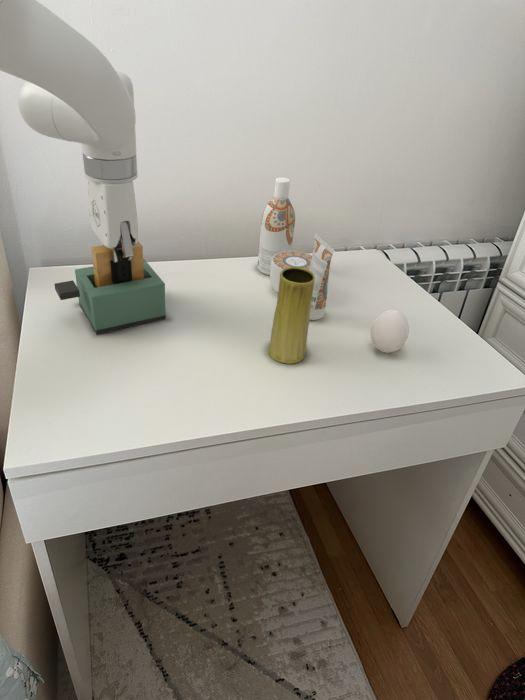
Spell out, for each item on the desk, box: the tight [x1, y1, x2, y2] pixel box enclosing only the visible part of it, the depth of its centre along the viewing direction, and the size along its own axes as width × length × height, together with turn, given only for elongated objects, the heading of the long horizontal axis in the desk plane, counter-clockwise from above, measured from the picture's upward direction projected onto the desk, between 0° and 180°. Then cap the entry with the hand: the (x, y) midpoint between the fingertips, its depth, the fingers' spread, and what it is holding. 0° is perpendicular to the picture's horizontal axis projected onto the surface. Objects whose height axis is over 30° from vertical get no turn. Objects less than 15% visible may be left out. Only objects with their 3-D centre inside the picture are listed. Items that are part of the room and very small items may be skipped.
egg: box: [370, 309, 410, 353], centre depth 88 cm, size 6×6×8 cm
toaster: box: [74, 257, 167, 335], centre depth 91 cm, size 12×10×7 cm
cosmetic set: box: [257, 176, 334, 321], centre depth 98 cm, size 25×9×19 cm, turn 22°
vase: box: [267, 267, 315, 365], centre depth 83 cm, size 6×6×14 cm
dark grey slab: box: [53, 280, 80, 301], centre depth 85 cm, size 3×4×1 cm
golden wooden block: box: [90, 241, 144, 288], centre depth 88 cm, size 8×2×8 cm, turn 121°
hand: (119, 276), depth 89 cm, fingers closed on golden wooden block, 2 cm apart
